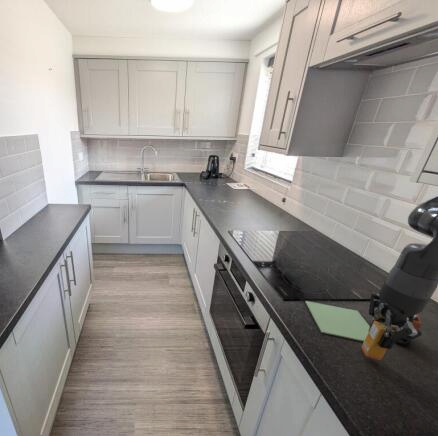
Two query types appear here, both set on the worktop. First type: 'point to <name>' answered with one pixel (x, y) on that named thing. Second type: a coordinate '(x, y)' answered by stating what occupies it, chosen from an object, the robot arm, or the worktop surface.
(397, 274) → the robot arm
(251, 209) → the worktop surface
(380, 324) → the supplement box
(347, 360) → the worktop surface
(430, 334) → the worktop surface
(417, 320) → the battery
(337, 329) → the sticky note pad
